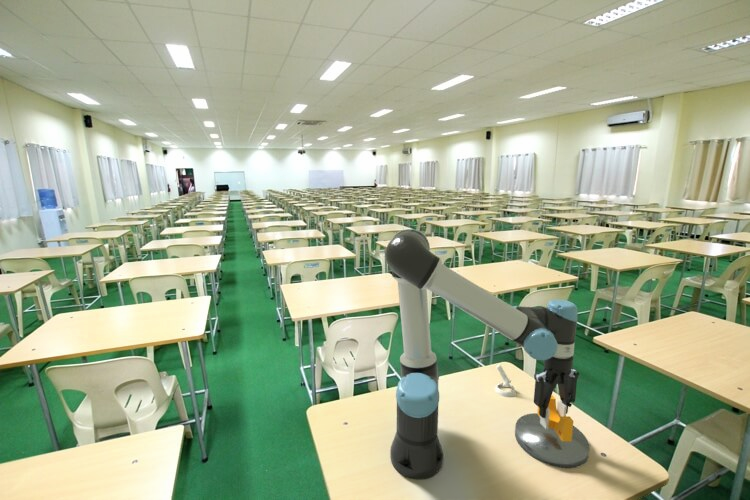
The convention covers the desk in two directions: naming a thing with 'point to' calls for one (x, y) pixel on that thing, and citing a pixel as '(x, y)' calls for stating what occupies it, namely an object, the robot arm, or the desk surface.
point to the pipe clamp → (559, 422)
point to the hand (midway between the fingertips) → (552, 424)
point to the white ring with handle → (504, 384)
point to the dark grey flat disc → (550, 443)
